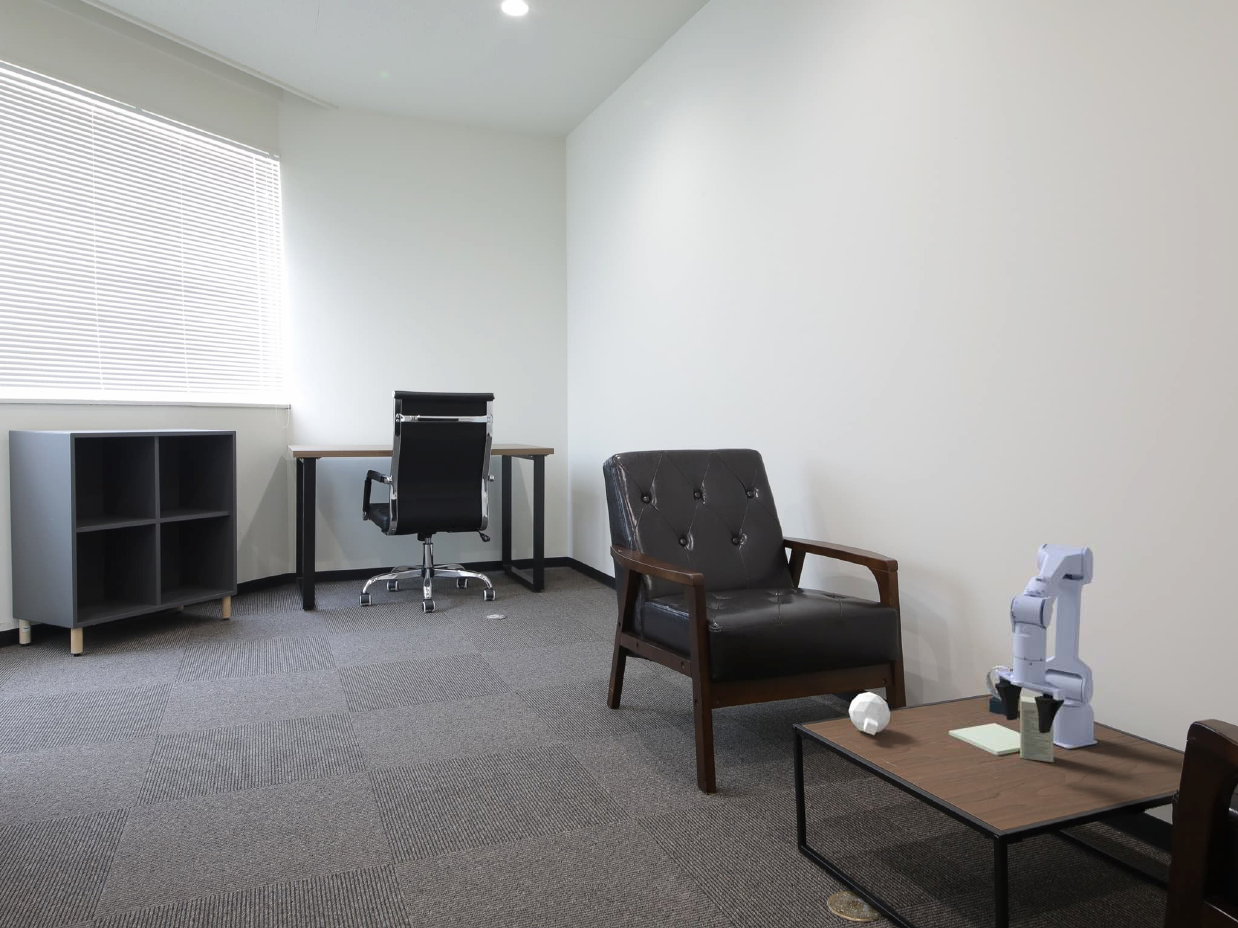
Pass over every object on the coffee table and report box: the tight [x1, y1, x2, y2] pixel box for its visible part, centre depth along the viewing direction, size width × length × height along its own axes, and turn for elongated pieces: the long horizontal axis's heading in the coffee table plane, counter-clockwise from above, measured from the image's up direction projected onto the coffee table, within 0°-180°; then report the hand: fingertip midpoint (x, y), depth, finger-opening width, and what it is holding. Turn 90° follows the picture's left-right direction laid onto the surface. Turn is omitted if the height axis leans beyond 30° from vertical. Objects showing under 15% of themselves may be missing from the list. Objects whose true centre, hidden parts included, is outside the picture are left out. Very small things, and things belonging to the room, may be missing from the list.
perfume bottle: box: [848, 691, 892, 736], centre depth 182 cm, size 9×9×12 cm
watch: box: [984, 665, 1013, 716], centre depth 199 cm, size 6×8×11 cm
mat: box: [948, 722, 1020, 756], centre depth 179 cm, size 14×13×1 cm
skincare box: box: [1019, 695, 1054, 763], centre depth 170 cm, size 6×4×12 cm
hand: (1027, 725), depth 159 cm, fingers open, 7 cm apart
